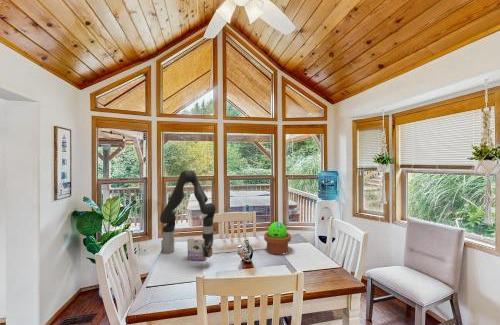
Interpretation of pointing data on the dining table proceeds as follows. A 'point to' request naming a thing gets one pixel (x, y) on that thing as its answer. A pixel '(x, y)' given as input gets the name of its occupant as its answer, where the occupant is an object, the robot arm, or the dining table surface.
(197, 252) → the candy box
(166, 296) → the dining table surface
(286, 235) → the potted cactus
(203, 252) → the walnut cube
